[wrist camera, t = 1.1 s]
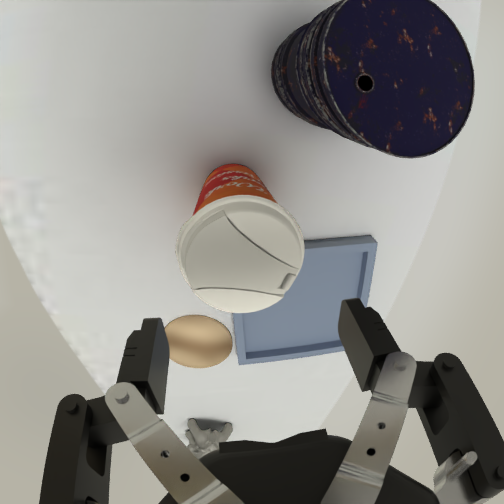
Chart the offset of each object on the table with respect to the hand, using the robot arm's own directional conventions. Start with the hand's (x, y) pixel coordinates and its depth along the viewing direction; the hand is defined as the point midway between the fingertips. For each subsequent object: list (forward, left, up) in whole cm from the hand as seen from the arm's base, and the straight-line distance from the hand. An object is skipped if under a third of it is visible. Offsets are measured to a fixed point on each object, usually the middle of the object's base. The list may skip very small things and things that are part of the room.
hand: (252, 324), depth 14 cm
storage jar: (-11, +9, -19) cm, 24 cm away
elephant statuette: (+43, -8, -19) cm, 48 cm away
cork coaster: (+19, -6, -19) cm, 28 cm away
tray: (+14, +7, -19) cm, 25 cm away
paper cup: (0, 0, -19) cm, 19 cm away
